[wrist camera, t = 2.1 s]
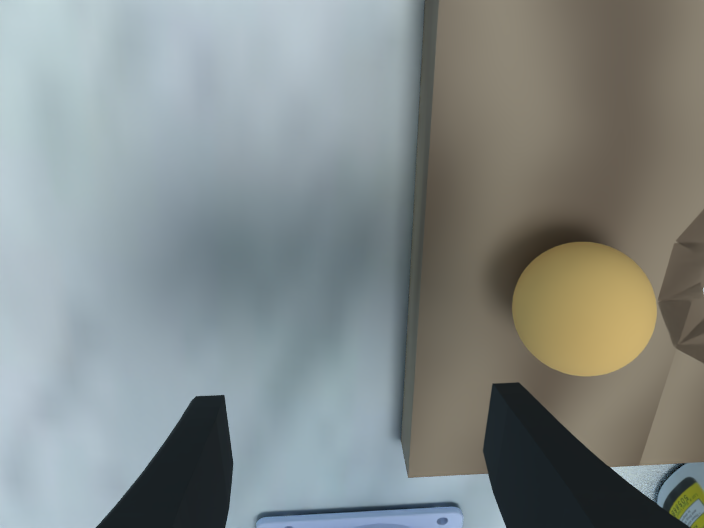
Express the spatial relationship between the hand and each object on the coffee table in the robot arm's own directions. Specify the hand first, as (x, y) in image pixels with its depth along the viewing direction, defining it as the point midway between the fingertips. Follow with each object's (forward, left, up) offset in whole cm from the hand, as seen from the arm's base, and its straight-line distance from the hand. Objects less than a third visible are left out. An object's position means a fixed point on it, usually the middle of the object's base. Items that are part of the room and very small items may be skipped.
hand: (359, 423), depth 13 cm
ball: (+7, 0, -4) cm, 8 cm away
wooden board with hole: (+11, 0, -8) cm, 14 cm away
